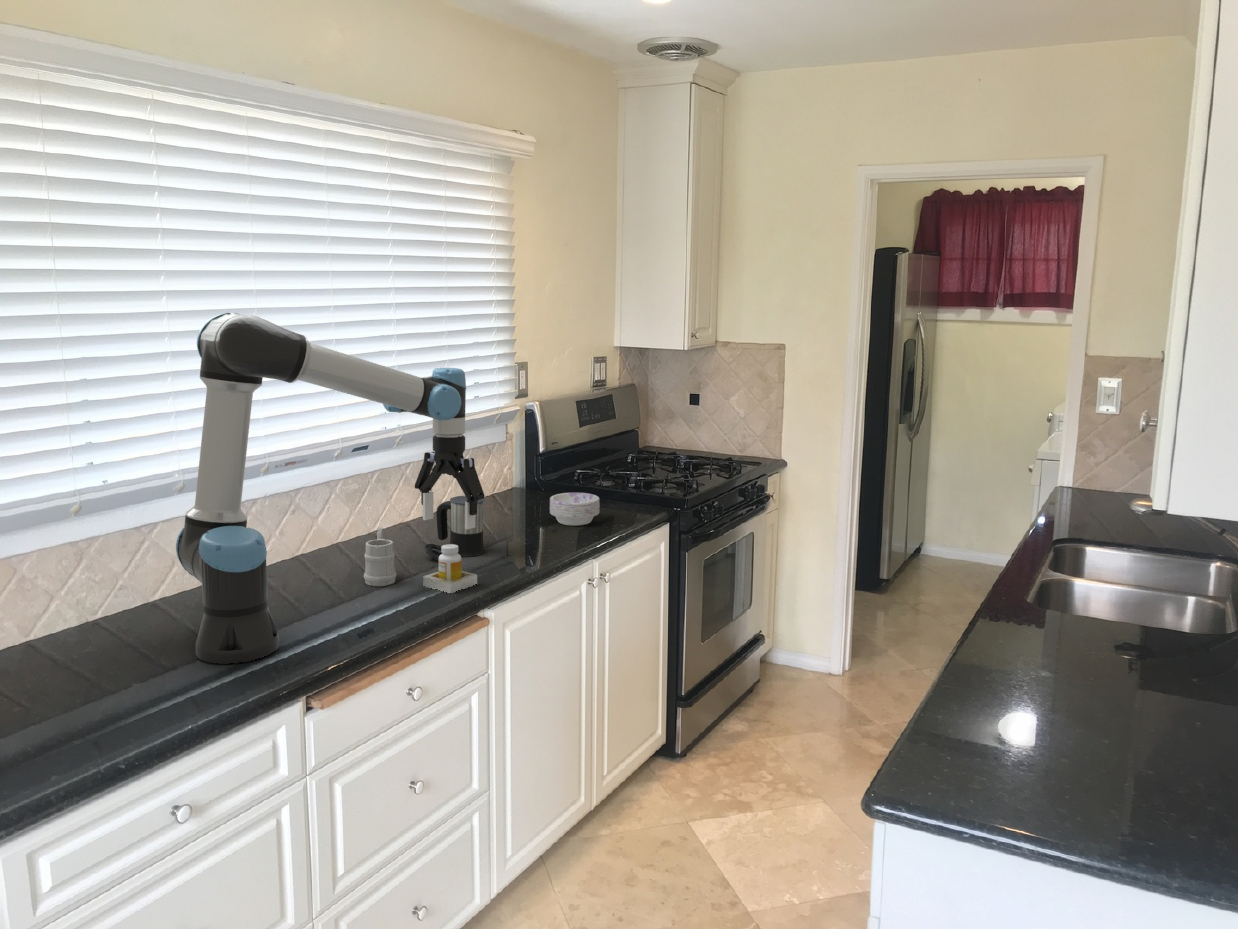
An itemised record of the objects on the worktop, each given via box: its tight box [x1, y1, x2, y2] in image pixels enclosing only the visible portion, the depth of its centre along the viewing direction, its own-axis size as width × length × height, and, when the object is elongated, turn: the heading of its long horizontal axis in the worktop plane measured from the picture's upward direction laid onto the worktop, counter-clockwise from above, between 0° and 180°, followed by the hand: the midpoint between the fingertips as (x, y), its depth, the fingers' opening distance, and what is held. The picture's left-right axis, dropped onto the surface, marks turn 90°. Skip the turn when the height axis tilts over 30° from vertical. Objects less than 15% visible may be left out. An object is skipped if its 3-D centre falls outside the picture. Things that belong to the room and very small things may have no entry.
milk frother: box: [424, 495, 486, 562], centre depth 254 cm, size 14×16×15 cm
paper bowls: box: [549, 492, 601, 527], centre depth 294 cm, size 15×15×8 cm
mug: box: [363, 526, 397, 587], centre depth 232 cm, size 8×12×12 cm, turn 13°
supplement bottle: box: [438, 543, 462, 581], centre depth 229 cm, size 5×5×10 cm
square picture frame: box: [422, 570, 478, 594], centre depth 230 cm, size 9×9×2 cm
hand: (448, 523), depth 227 cm, fingers open, 13 cm apart
